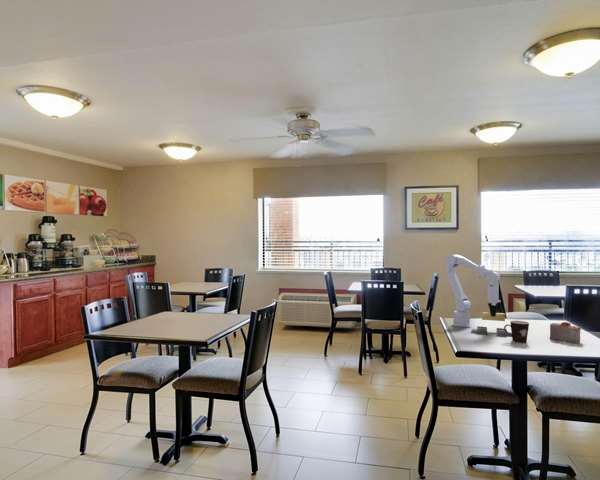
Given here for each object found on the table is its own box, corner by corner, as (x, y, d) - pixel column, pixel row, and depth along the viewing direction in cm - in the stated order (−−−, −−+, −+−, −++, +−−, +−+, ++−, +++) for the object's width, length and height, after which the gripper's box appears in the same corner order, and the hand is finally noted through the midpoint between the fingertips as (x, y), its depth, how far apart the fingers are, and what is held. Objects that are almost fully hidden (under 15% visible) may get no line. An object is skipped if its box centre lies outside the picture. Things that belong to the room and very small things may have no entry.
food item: (582, 342, 209) (582, 323, 209) (578, 344, 204) (578, 325, 204) (553, 337, 219) (553, 319, 219) (548, 339, 214) (548, 321, 214)
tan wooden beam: (481, 319, 234) (481, 312, 234) (481, 318, 237) (481, 312, 237) (504, 321, 230) (504, 314, 230) (504, 320, 232) (504, 313, 232)
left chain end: (471, 333, 226) (471, 327, 226) (471, 330, 232) (471, 325, 232) (487, 334, 223) (487, 329, 223) (486, 332, 229) (486, 327, 229)
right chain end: (497, 335, 221) (497, 330, 221) (496, 333, 227) (496, 327, 227) (513, 337, 218) (513, 331, 218) (512, 334, 224) (512, 329, 224)
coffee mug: (528, 340, 211) (528, 321, 211) (529, 344, 203) (529, 324, 203) (503, 338, 216) (503, 319, 216) (504, 341, 208) (504, 322, 208)
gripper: (501, 294, 225) (501, 318, 225) (499, 291, 238) (499, 314, 238) (487, 293, 228) (487, 317, 228) (486, 290, 241) (486, 313, 241)
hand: (492, 316), depth 233 cm, fingers closed on tan wooden beam, 2 cm apart
